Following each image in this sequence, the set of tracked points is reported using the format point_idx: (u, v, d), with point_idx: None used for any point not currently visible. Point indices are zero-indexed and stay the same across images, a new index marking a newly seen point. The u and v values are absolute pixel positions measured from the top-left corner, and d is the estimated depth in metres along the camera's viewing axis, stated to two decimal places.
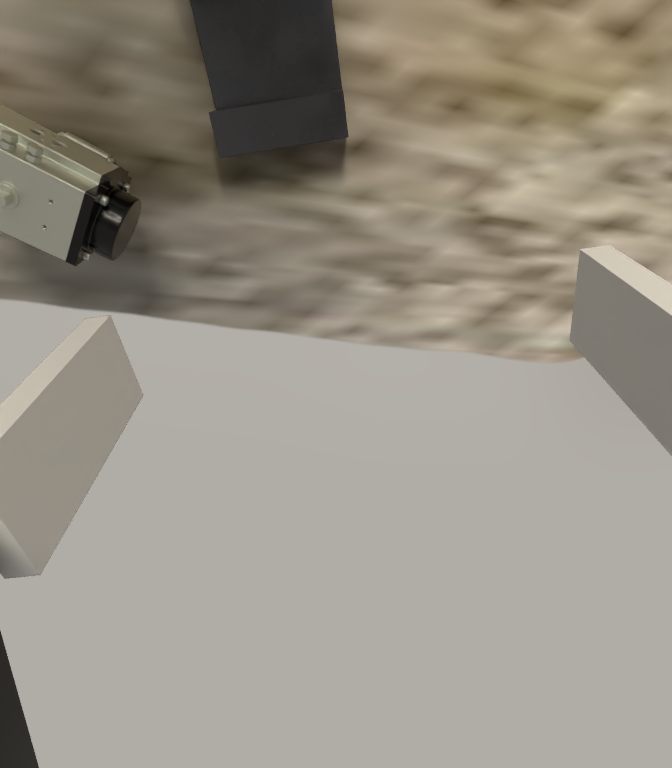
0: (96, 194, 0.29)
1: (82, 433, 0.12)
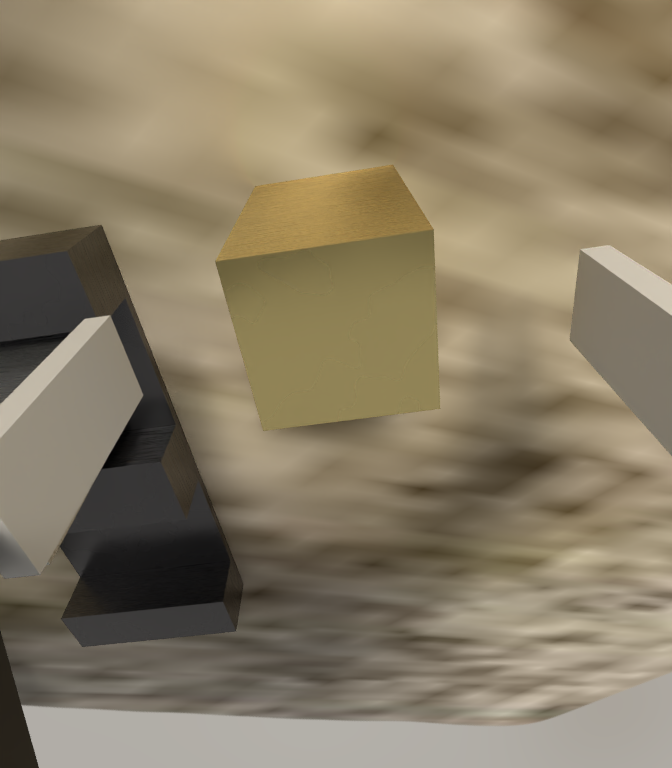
0: None
1: (82, 433, 0.12)
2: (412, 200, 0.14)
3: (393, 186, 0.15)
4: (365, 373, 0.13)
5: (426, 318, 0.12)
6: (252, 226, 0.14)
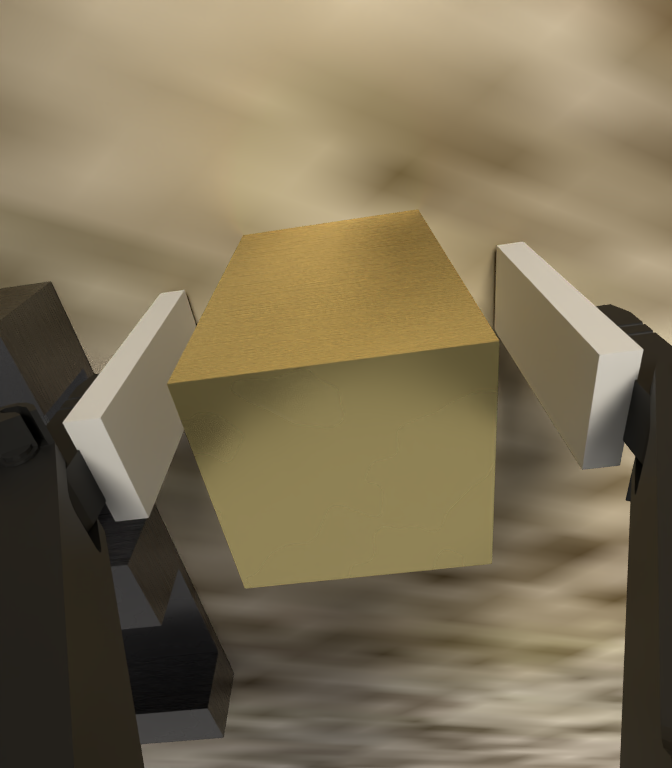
0: None
1: (170, 395, 0.13)
2: (455, 275, 0.10)
3: (423, 247, 0.11)
4: (388, 523, 0.09)
5: (480, 457, 0.08)
6: (230, 310, 0.10)
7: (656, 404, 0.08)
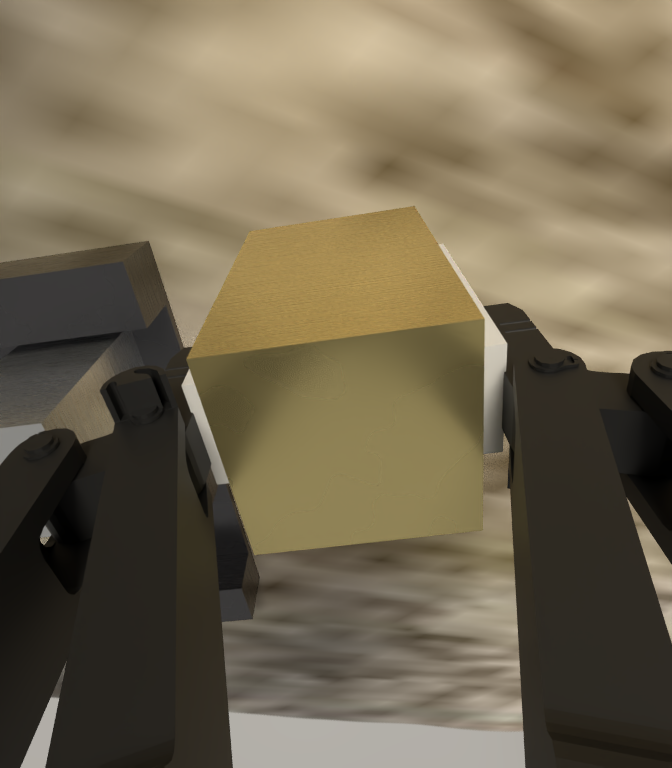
0: None
1: None
2: (447, 264, 0.10)
3: (419, 239, 0.12)
4: (387, 491, 0.10)
5: (470, 427, 0.09)
6: (241, 297, 0.11)
7: (517, 398, 0.08)
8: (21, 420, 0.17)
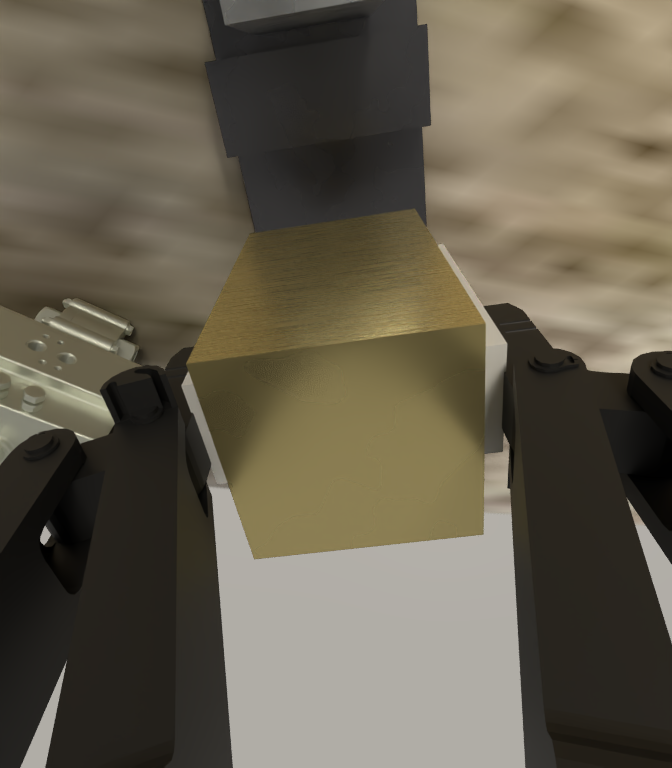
0: None
1: None
2: (447, 267, 0.10)
3: (419, 242, 0.12)
4: (387, 495, 0.10)
5: (471, 431, 0.09)
6: (241, 300, 0.11)
7: (517, 398, 0.08)
8: None
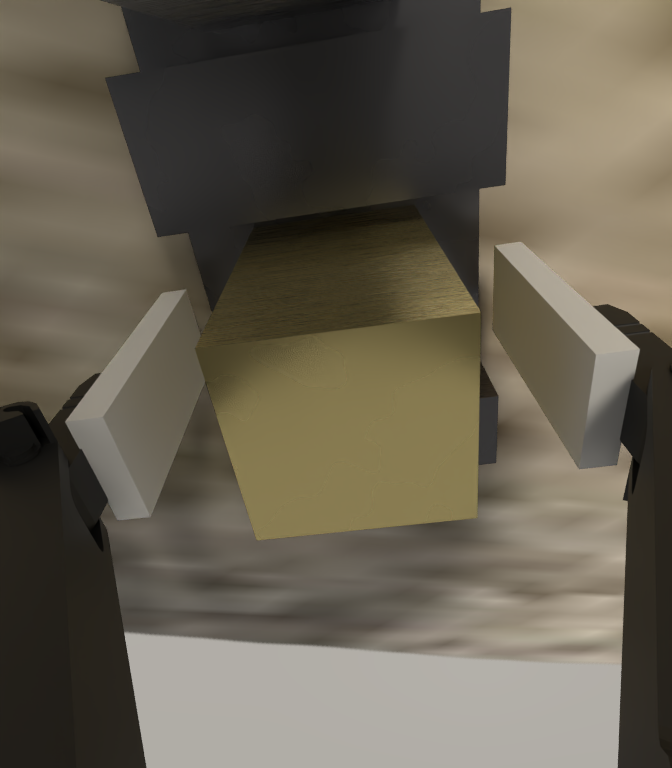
0: None
1: (172, 394, 0.13)
2: (445, 261, 0.11)
3: (418, 237, 0.13)
4: (385, 479, 0.11)
5: (466, 417, 0.10)
6: (246, 290, 0.11)
7: (653, 404, 0.08)
8: None
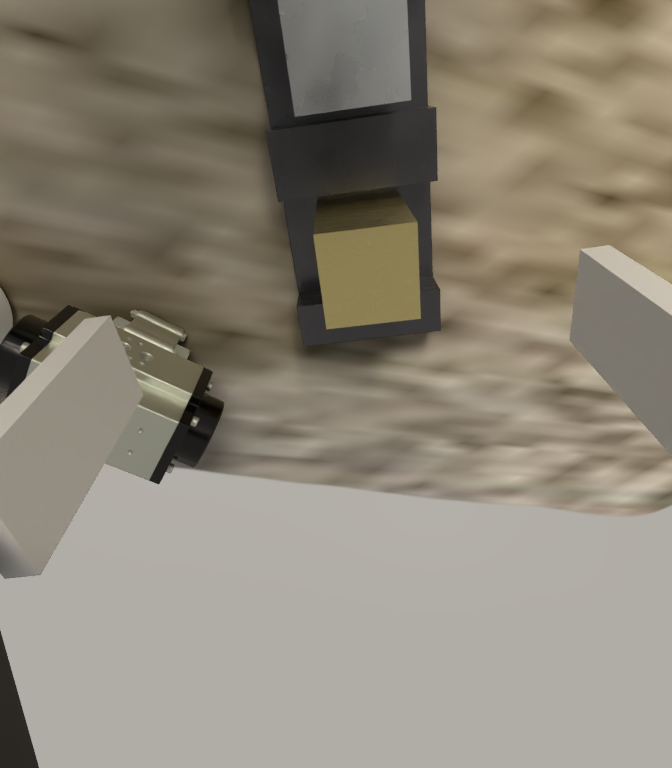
0: (188, 421, 0.27)
1: (82, 433, 0.12)
2: (408, 209, 0.26)
3: (398, 203, 0.28)
4: (382, 296, 0.26)
5: (413, 267, 0.25)
6: (325, 221, 0.26)
7: None
8: None
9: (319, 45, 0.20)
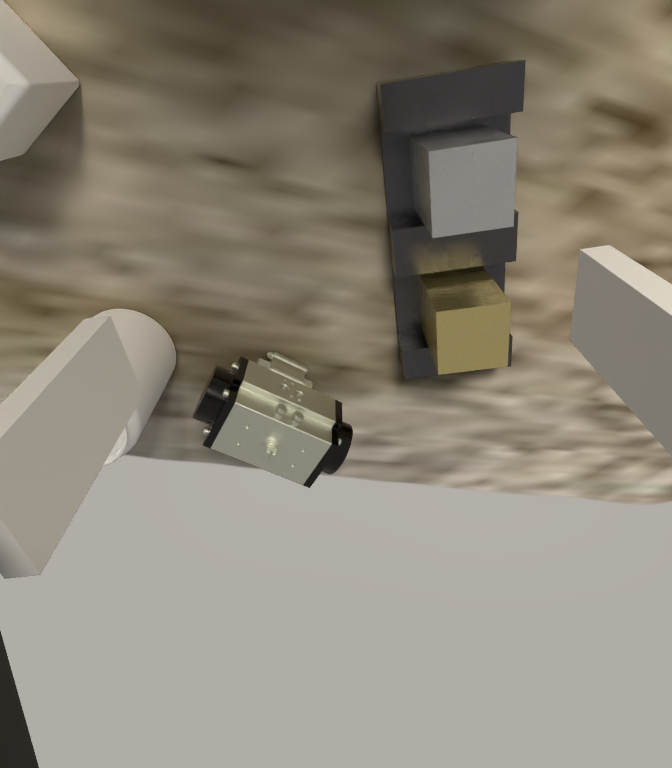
0: (337, 442, 0.37)
1: (82, 433, 0.12)
2: (498, 287, 0.36)
3: (487, 278, 0.38)
4: (481, 352, 0.36)
5: (505, 331, 0.35)
6: (437, 296, 0.36)
7: None
8: (500, 139, 0.29)
9: (454, 194, 0.30)
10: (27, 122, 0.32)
